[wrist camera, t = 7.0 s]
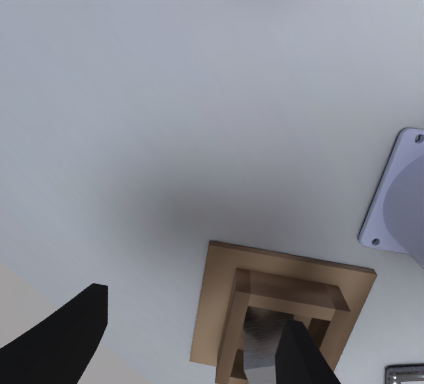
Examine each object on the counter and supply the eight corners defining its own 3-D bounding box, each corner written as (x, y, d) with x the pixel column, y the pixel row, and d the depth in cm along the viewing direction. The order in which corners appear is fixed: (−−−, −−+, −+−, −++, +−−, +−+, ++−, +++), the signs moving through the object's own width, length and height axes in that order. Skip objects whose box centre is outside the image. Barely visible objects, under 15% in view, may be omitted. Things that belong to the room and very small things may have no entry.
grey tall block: (288, 293, 21) (303, 361, 16) (302, 342, 23) (320, 418, 18) (242, 302, 22) (243, 370, 17) (259, 348, 23) (265, 423, 18)
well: (373, 269, 20) (395, 300, 17) (324, 380, 25) (335, 419, 22) (209, 240, 21) (204, 266, 18) (190, 354, 25) (184, 390, 22)
